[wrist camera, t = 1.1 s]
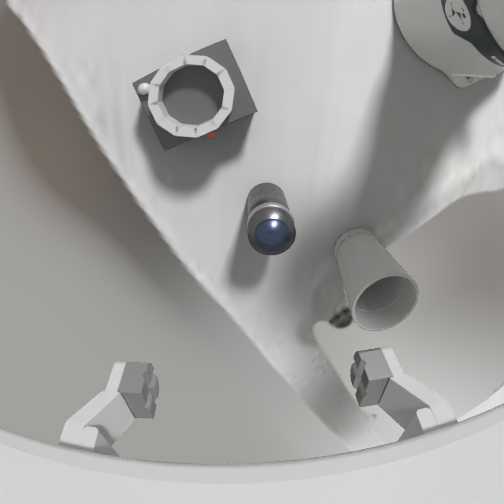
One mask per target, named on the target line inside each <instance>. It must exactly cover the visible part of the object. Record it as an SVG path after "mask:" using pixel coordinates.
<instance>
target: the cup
mask: <svg viewBox="0 0 504 504" xmlns="http://www.w3.org/2000/svg"><path fill="white" fill-rule="evenodd" d="M334 257H335V259H336V261H337V264H338V267H339V270H340V273H341V276H342V280H343V283H344V286H345V290H346V293H347V298H348V301H349V305H350V309H351V313H352V317H353V320H354V322H355V323H356V324H357V325H358V326H360V327H361V328H362V329H365V330H369V331H381V330H385V329H388V328H391V327H393V326H395V325H397V324H399V323H400V322H401V321H403V320H404V319H405V318H406V317H407V316H408V315H409V314H410V313H411V312H412V310H413V309H414V307H415V305H416V303H417V300H418V286H417V284H416V282H415V281H414V280H413V278H412V277H411V276H410V275H409V274H408V273H407V272H406V271H405V270H404V269H403V268H402V266H401V265H400V264H398V262H397V261H396V260H395V259H394V258H393V257H392V256H391V255H390V253H389V252H388V251H387V250H386V249H385V248H384V247H383V246H382V245H381V244H380V242H379V241H378V240H377V239H376V238H375V236H374V235H373V234H372V233H371V232H370V231H368V230H366V229H363V228H355V229H351V230H349V231H347V232H345V233H344V234H343V235H341V236H340V237H339V239H338V240H337V242H336V244H335V247H334Z"/></svg>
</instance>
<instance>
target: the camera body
mask: <svg viewBox="0 0 504 504" xmlns="http://www.w3.org/2000/svg"><path fill="white" fill-rule="evenodd" d="M132 84H133V86H134V88H135V90H136V93H137V95H138V97H139V99H140V101H141V103H142V105H143V107H144V109H145V111H146V113H147V116H148V118H149V120H150V122H151V124H152V126H153V128H154V130H155V132H156V134H157V136H158V138H159V140H160V142H161V144H162V146H163V148H164V150H165V151H167V150H169V149H171V148H173V147H175V146H177V145H179V144H181V143H184V142H186V141H188V140H190V139H192V138H196V137H199V136H202V135H204V134H206V133H207V135H208V137H213V136H214V131H213V130H216V129H217V128H218V127H220V126H222V125H225V124H227V123H230V122H232V121H235V120H237V119H240V118H242V117H245V116H247V115H250V114H252V113H255V112H258V111H257V109H256V107H255V104H254V102H253V99H252V97H251V95H250V92H249V90H248V88H247V85H246V83H245V81H244V79H243V76H242V74H241V72H240V69H239V67H238V65H237V63H236V60H235V58H234V56H233V54H232V52H231V49H230V47H229V45H228V43H227V41H226V39H225V40H222V41H220V42H217V43H215V44H212V45H210V46H207V47H205V48H203V49H200V50H198V51H196V52H194V53H191V54H189V55H182V56H180V57H178V58H176V59H174V60H172V61H170V62H168V63H166V64H163V65H162V67H161V68H160V69H158V70H156V71H154V72H152V73H150V74H149V75H147V76H145V77H143V78H141V79H139V80H137V81H136V82H134V83H132Z"/></svg>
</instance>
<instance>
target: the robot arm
mask: <svg viewBox="0 0 504 504" xmlns="http://www.w3.org/2000/svg"><path fill="white" fill-rule="evenodd" d="M394 12H395V17H396V20H397V23H398V26H399V28H400V31H401V33H402V35H403V36H404V38H405V40H406V41H407V43H408V44H409V46H410V47H411V48H412V49H413V51H414V52H415V53H416V54H417V55H418V56H419V57H420V58H422V59H423V60H424V61H425V62H427V63H428V64H430V65H431V66H433V67H435V68H437V69H439V70H441V71H442V72H444V73H445V74H446V75H447V76H448V78H449V79H450V80H451V81H452V82H453V83H454V84H455V85H456V86H457V87H460V88H465V87H468V86H470V85H472V84H474V83H476V82H478V81H480V80H482V79H484V78H495V77H496V74H499V73H501V72H503V71H504V0H394ZM466 76H467V78H466ZM354 360H355V363H353V364H352V367H351V382H352V385H353V387H355V388H356V389H357V392H356V398H357V401H358V404H359V407H364V406H370V405H376V404H378V405H379V406H380V407H381V408H382V409H383V410H384V411H385V412H386V413H387V414H388V415H390V416H391V417H392V418H393V419H394V420H395V421H396V422H397V423H398V424H399V425H400V426H401V427H403V428H404V429H405V431H404V432H403V434H402V436H401V437H400V438H399V440H398V441H397V442H393V443H389V444H385V445H381V446H377V447H372V448H367V449H363V450H358V451H353V452H348V453H341V454H336V455H330V456H323V457H315V458H308V459H300V460H290V461H278V462H265V463H246V464H245V463H244V464H195V463H194V464H192V463H173V462H160V461H150V460H140V459H132V458H124V457H120V456H119V455H118V454H117V452H116V451H115V450H114V449H113V448H112V445H113V444H114V442H115V441H116V440H117V439H118V438H119V437H120V436H121V434H122V433H123V432H124V431H125V430H126V429H127V427H128V426H129V425H130V424H131V423H132V422H133V420H134V419H135V418H154V416H155V410H156V404H155V402H154V400H155V399H156V398H157V397H158V394H159V383H158V378H157V376H156V375H155V374H154V373H153V370H154V368H153V366H152V364H151V363H140V362H123V361H116V363H115V364H114V366H113V369H112V372H111V375H110V378H109V381H108V384H107V387H106V390H105V391H101V392H100V393H99V394H98V395H97V396H96V397H94V398H93V399H92V400H91V401H90V402H89V403H87V404H86V405H85V406H84V407H83V408H81V409H80V410H79V411H78V412H77V413H75V414H74V415H73V416H72V417H71V418H70V419H68V420H67V421H66V424H65V426H64V429H63V432H62V435H61V438H60V441H59V444H58V445H57V444H53V443H49V442H45V441H42V440H38V439H35V438H31V437H28V436H25V435H21V434H18V433H15V432H12V431H9V430H6V429H4V428H1V427H0V504H504V404H502V405H500V406H497V407H495V408H493V409H491V410H488V411H486V412H484V413H481V414H479V415H476V416H474V417H471V418H469V419H466V420H463V421H461V422H457V420H456V418H455V415H454V413H453V411H452V409H451V407H450V405H449V403H448V401H447V400H446V399H444V398H443V397H441V396H440V395H438V394H437V393H435V392H434V391H432V390H431V389H429V388H428V387H426V386H425V385H423V384H422V383H420V382H419V381H417V380H416V379H414V378H413V377H411V376H410V375H408V374H406V375H405V374H404V372H403V370H402V368H401V365H400V363H399V361H398V359H397V357H396V355H395V353H394V351H393V349H392V348H391V347H390V346H389V347H383V348H375V349H369V350H363V351H357V352H356V353H355V355H354Z"/></svg>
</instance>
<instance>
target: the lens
mask: <svg viewBox="0 0 504 504" xmlns="http://www.w3.org/2000/svg"><path fill="white" fill-rule="evenodd" d="M247 213H248V219H247V232H248V238H249V242H250V244H251V245H252V247H253V248H254V249H255V250H256V251H258V252H260V253H262V254H265V255H277V254H280V253H283V252H285V251H286V250H287V249H289V248H290V247H291V245H292V244H293V242H294V240H295V236H296V230H295V226H294V220H293V217H292V214H291V213H290V211H289V208H288V205H287V202H286V199H285V196H284V193H283V191H282V190H281V189H280V188H279V187H278V186H276V185H274V184H272V183H261V184H259V185H257V186H255V187H254V188H253V189H252V190H251V191H250V192H249V195H248V198H247Z"/></svg>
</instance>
